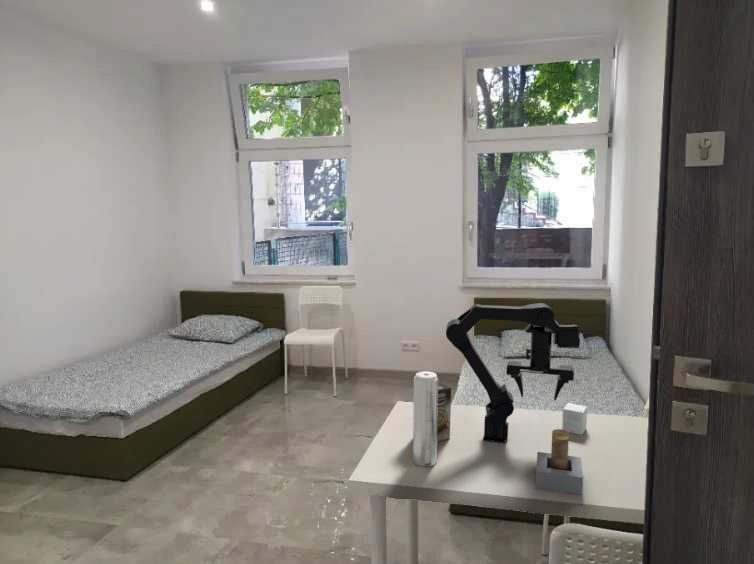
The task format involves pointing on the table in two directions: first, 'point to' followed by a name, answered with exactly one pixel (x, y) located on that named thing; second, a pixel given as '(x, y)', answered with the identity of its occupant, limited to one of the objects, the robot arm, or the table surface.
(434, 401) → the air filter
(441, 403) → the coffee box
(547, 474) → the socket block
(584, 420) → the product box
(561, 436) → the peg
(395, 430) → the table surface
